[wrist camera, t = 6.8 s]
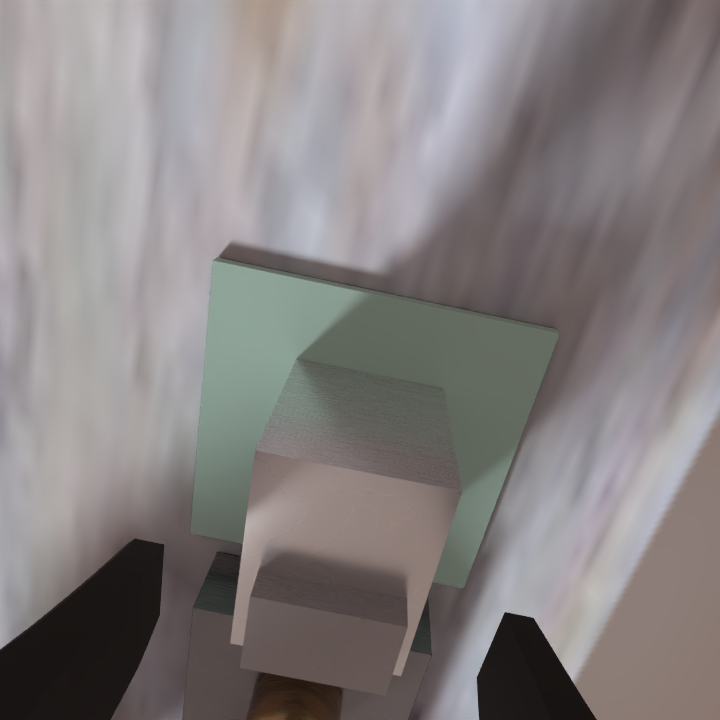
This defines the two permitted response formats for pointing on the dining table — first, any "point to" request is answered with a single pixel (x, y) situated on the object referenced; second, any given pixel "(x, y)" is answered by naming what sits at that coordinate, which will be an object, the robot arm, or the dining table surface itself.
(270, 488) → the lever cap
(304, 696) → the hand plane
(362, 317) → the mat
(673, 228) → the dining table surface
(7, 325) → the dining table surface
